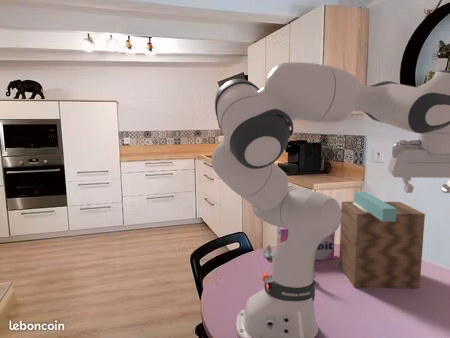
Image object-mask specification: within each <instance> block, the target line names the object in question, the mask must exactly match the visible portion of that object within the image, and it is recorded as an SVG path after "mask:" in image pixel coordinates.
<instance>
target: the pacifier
mask: <svg viewBox="0 0 450 338" xmlns="http://www.w3.org/2000/svg"><path fill="white" fill-rule="evenodd" d="M262 253H263V256H265V258H267V259H269V260H272V253H273V250H272V247H271V244H270V243H267V244H266V249H264V250H263V252H262Z"/></svg>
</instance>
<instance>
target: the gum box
mask: <svg viewBox="0 0 450 338" xmlns="http://www.w3.org/2000/svg"><path fill="white" fill-rule="evenodd" d="M276 229H277V235H276V237H277V241H276V243H277V244H276V246H277V245H278V244H279V243H281V242H284V241H286V240H287V238H288V229H286V228H282V227H279V226H276ZM335 234H336V231H335V232H334V233H333V234H332V235H330V236H328V237H326V238H325V239H324V240H323V241H322V242H321V243H320V244H319V246H318V248H317V251H316V254H315V261H319V260H320V261H322V260H323V261H324V260H334V259H335V237H336V235H335Z"/></svg>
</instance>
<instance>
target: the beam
mask: <svg viewBox="0 0 450 338" xmlns="http://www.w3.org/2000/svg"><path fill="white" fill-rule="evenodd" d="M353 196H354V199H353V202H355V203H356V204H358V205H359V206H360V207H362V208H363V209H365V210H366V211H368V212H369V213H371V214H372V215H374V216H375V217H377V218H378V219H380V220H381V221H390V222H396V210H397V209H396V208H394V207H393V206H391V205H389V204H387V203H385V202H386V201H383V200H382V199H379V198H378V197H376V196H374V195H372V194H370V193H368V192H366V191H354V195H353Z"/></svg>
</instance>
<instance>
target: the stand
mask: <svg viewBox="0 0 450 338" xmlns="http://www.w3.org/2000/svg"><path fill="white" fill-rule="evenodd" d="M384 202H385V203H387V204H389V205H391V206H393V207H394V208H396V209H397V210H396V222H390V221H381V220H380V219H378V218H377V217H375V216H374V215H372V214H371V213H369V212H368V211H366V210H365V209H363V208H362V207H360V206H359V205H358V204H356V203H355V202H354V201H341V206H340V208H341V212H342V218H341V223H340V231H339V232H340V235H339V258H338V267H339V268H340V269H341V271H342V272H343V273H344V275H345V276H346V278H347V279H348V281H349V282H350V283H351V285H352V286H353V288H371V289H372V288H375V289H377V288H382V289H383V288H384V289H385V288H386V289H389V288H390V289H420V288H421V274H422V272H421V271H422V261H423V259H422V257H423V246H424V245H423V244H424V235H425V234H424V233H425V232H424V231H425V216H426V214H425V213H424V212H422V211H419V210H417V209H415V208H414V207H411V206H409V205H407V204H405V203H404V202H402V201H384Z"/></svg>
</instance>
